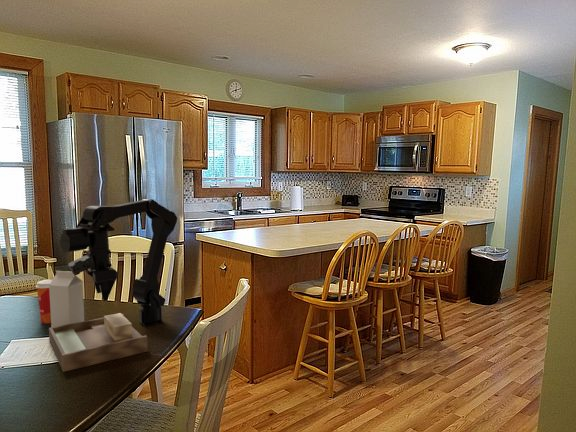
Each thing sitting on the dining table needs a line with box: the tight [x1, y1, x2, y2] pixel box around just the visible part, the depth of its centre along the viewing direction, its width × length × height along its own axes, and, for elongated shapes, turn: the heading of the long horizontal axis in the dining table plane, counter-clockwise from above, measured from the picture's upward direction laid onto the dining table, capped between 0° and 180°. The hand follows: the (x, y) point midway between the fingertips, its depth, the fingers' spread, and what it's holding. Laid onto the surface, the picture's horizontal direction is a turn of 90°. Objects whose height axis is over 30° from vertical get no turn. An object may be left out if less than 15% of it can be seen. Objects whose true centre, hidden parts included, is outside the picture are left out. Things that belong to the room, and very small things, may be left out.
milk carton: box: [49, 270, 85, 328], centre depth 142 cm, size 7×7×19 cm
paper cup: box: [35, 278, 53, 324], centre depth 148 cm, size 8×8×14 cm
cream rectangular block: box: [103, 312, 133, 340], centre depth 130 cm, size 5×12×4 cm, turn 37°
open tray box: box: [48, 313, 149, 373], centre depth 127 cm, size 22×24×4 cm
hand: (102, 296), depth 132 cm, fingers open, 9 cm apart
